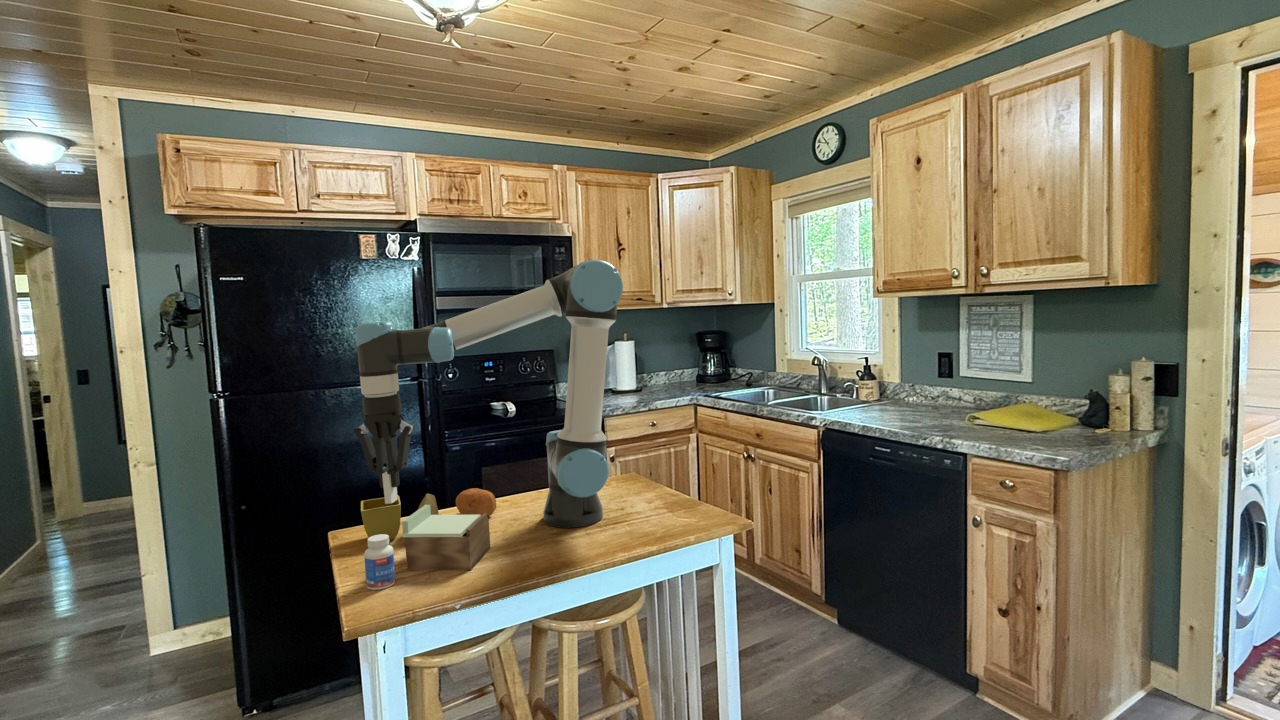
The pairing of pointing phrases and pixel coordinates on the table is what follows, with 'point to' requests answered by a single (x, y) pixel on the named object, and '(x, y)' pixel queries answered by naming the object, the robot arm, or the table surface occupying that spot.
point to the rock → (430, 503)
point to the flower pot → (381, 517)
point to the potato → (476, 502)
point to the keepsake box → (449, 549)
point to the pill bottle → (379, 563)
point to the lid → (436, 524)
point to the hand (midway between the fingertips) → (391, 501)
